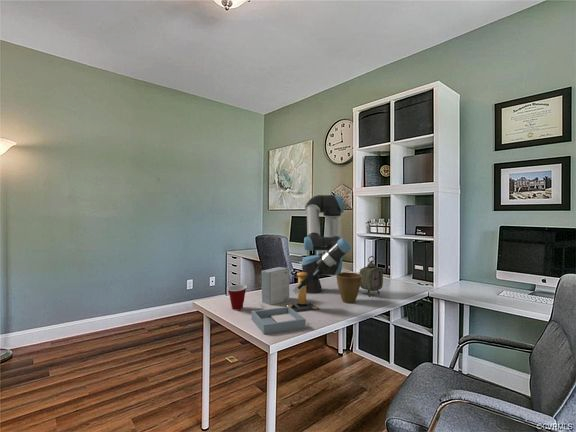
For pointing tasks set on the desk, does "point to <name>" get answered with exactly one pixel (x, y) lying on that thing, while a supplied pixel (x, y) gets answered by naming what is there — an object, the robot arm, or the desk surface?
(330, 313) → the desk surface
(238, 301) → the plastic cup
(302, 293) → the pin
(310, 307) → the tensioner bracket
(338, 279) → the plant pot
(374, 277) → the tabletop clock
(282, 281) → the hard drive box
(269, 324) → the pin tray
